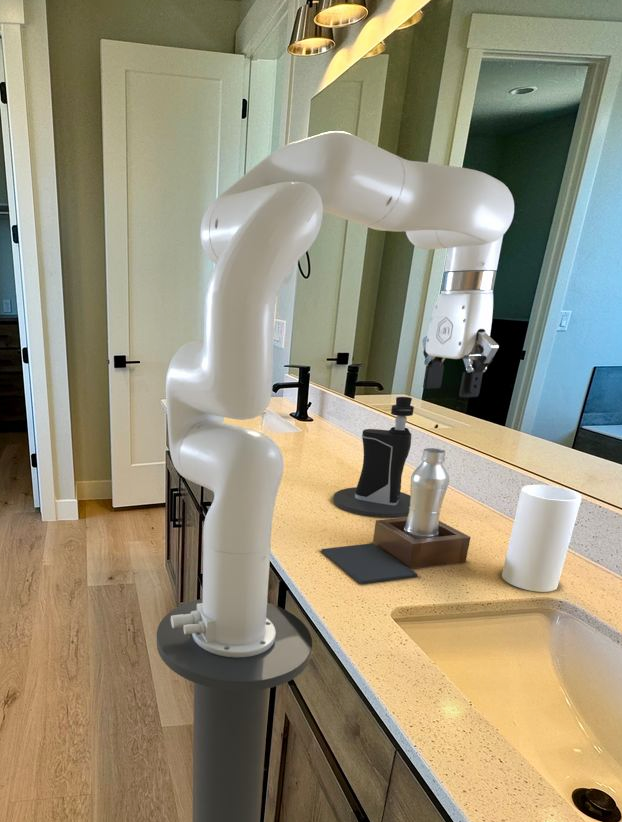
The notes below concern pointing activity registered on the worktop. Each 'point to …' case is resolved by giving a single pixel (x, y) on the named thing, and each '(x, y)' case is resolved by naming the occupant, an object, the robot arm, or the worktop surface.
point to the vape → (382, 470)
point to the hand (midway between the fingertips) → (449, 392)
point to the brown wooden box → (421, 544)
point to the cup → (540, 537)
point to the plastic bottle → (427, 495)
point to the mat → (368, 563)
